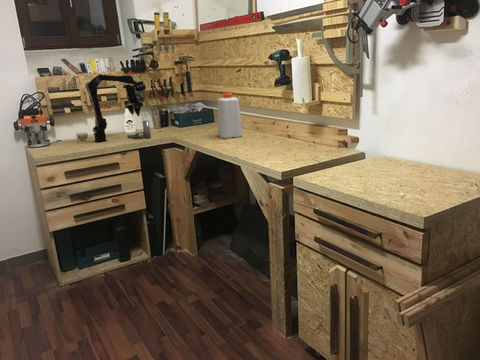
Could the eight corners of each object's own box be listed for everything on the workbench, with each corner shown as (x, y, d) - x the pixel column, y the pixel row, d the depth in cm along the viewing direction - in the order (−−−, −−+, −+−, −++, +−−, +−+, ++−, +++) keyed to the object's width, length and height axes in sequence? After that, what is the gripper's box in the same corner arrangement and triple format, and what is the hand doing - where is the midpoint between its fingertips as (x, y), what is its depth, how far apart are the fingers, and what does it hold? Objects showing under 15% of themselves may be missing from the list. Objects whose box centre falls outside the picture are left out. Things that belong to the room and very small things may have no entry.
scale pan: (135, 135, 273) (135, 134, 273) (129, 134, 279) (129, 133, 279) (145, 133, 279) (145, 132, 278) (139, 132, 284) (139, 131, 284)
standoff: (146, 139, 269) (144, 121, 265) (143, 138, 272) (141, 121, 268) (152, 138, 272) (150, 120, 268) (148, 137, 275) (146, 120, 271)
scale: (136, 139, 270) (135, 133, 269) (127, 137, 279) (126, 131, 278) (150, 136, 277) (149, 130, 276) (141, 134, 286) (140, 129, 285)
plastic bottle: (238, 133, 274) (236, 92, 265) (244, 137, 260) (242, 93, 251) (217, 135, 270) (214, 93, 262) (221, 139, 256) (219, 95, 248)
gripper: (147, 92, 272) (151, 114, 278) (135, 90, 286) (140, 111, 292) (132, 95, 266) (137, 118, 272) (121, 93, 280) (126, 114, 286)
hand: (135, 115), depth 281 cm, fingers open, 9 cm apart
